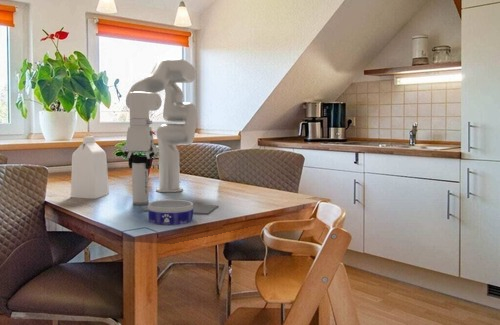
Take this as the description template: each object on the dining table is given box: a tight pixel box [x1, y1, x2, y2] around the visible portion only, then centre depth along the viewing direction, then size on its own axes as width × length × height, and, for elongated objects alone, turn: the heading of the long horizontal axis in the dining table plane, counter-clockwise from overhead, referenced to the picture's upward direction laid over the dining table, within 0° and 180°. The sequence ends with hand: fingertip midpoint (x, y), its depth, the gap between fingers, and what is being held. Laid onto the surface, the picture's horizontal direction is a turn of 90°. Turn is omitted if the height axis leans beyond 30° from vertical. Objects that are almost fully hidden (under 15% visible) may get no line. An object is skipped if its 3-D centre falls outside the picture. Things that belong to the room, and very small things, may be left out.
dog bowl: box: [147, 199, 194, 226], centre depth 163 cm, size 15×15×6 cm
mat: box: [140, 203, 219, 215], centre depth 182 cm, size 15×26×1 cm, turn 80°
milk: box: [70, 135, 110, 199], centre depth 208 cm, size 12×12×26 cm
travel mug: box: [131, 154, 150, 206], centre depth 190 cm, size 6×7×20 cm
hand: (139, 167), depth 190 cm, fingers closed on travel mug, 6 cm apart
